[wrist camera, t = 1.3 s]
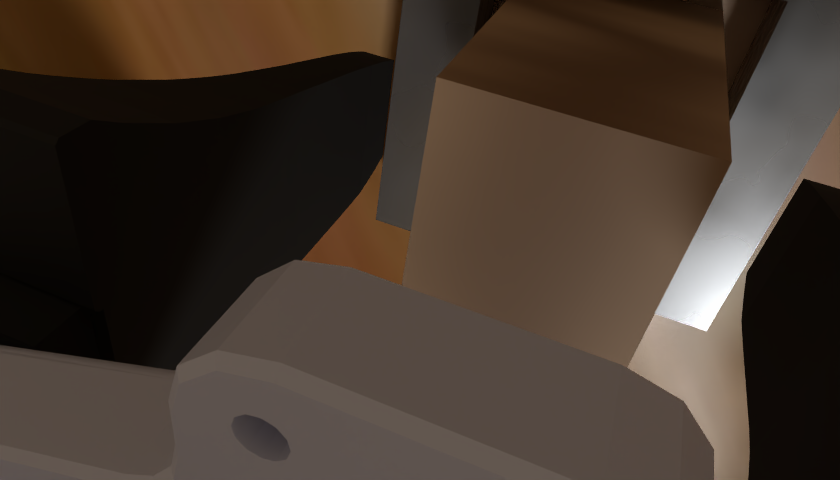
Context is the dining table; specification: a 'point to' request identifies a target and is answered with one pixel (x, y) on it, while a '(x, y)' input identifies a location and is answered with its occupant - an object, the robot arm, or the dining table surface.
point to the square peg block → (572, 166)
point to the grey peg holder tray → (749, 130)
